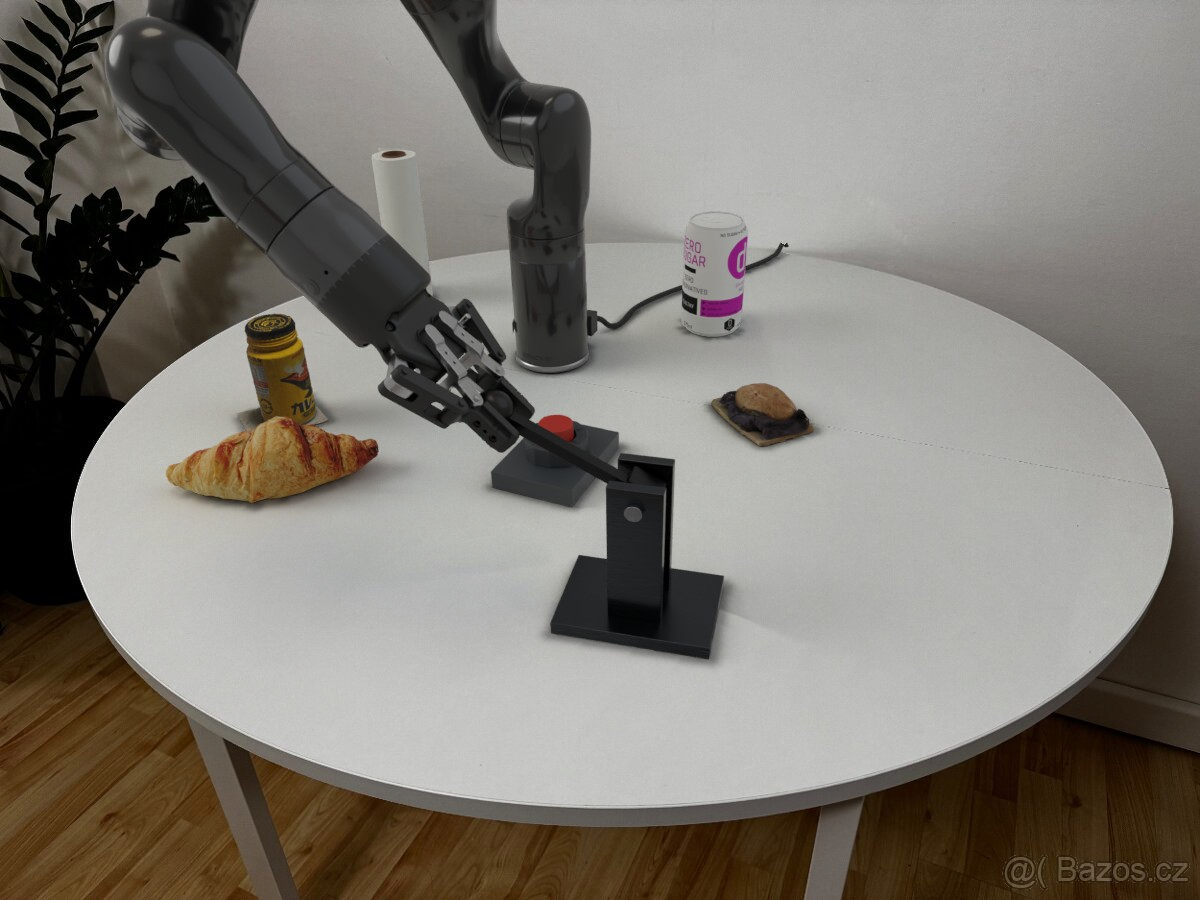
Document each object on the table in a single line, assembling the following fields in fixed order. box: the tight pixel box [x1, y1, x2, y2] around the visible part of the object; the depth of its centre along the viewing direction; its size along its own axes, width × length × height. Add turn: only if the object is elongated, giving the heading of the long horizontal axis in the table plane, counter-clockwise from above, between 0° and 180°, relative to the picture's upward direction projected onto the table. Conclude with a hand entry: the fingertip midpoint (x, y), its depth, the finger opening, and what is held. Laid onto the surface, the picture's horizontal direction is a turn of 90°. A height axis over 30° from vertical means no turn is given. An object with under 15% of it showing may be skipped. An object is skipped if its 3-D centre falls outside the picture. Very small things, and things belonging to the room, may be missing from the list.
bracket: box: [549, 452, 725, 660], centre depth 72 cm, size 13×9×14 cm
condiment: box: [236, 313, 329, 431], centre depth 100 cm, size 7×8×12 cm
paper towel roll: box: [371, 147, 434, 297], centre depth 128 cm, size 7×6×21 cm
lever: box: [479, 389, 666, 487], centre depth 69 cm, size 16×3×3 cm, turn 76°
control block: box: [490, 416, 620, 508], centre depth 93 cm, size 12×9×4 cm
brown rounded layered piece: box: [710, 382, 815, 447], centre depth 101 cm, size 11×8×4 cm
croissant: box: [165, 416, 380, 504], centre depth 91 cm, size 21×10×8 cm, turn 101°
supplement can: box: [680, 210, 749, 338], centre depth 119 cm, size 8×8×15 cm
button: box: [537, 414, 574, 442], centre depth 92 cm, size 4×4×2 cm
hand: (518, 431), depth 69 cm, fingers closed on lever, 3 cm apart
